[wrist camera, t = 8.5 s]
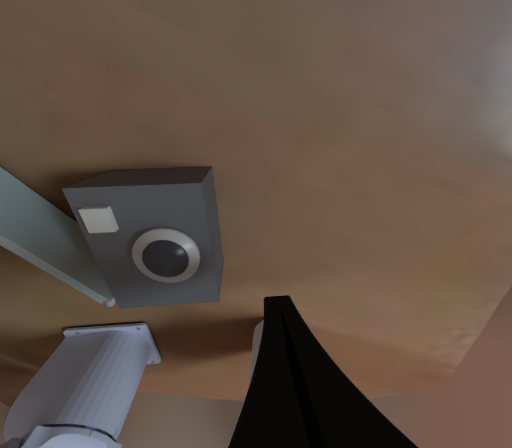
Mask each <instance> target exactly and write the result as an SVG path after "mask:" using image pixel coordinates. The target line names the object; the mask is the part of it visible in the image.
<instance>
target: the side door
mask: <svg viewBox="0 0 512 448" xmlns="http://www.w3.org/2000/svg"><path fill="white" fill-rule="evenodd" d="M0 245H1V246H3V247H4V248H6V249H8V250H9V251H11V252H13V253H15V254H16V255H18V256H20V257H21V258H23V259H25V260H27V261H28V262H30V263H32V264H33V265H35V266H37V267H39V268H40V269H42V270H44V271H46V272H47V273H49V274H51V275H52V276H54V277H56V278H58V279H59V280H61V281H63V282H64V283H66V284H68V285H70V286H71V287H73V288H75V289H76V290H78V291H80V292H82V293H83V294H85V295H87V296H88V297H90V298H92V299H94V300H95V301H97V302H99V303H100V304H102V305H104V306H106V307H112V306H113V305H114V303H115V302H116V300H115V298H114V296H113V294H112V292H111V290H110V287H109V285H108V283H107V281H106V279H105V277H104V275H103V273H102V271H101V269H100V267H99V265H98V263H97V261H96V259H95V257H94V254H93V252H92V250H91V248H90V246H89V244H88V242H87V240H86V238H85V236H84V234H83V232H82V230H81V228H80V226H79V224H78V223H77V222H76V221H74V220H73V219H72V218H70V217H69V216H67V215H66V214H65V213H63V212H62V211H61V210H59V209H58V208H56V207H55V206H54V205H52V204H51V203H49V202H48V201H47V200H45V199H44V198H43V197H41V196H40V195H38V194H37V193H36V192H34V191H33V190H32V189H30V188H29V187H27V186H26V185H25V184H23V183H22V182H21V181H19V180H18V179H16V178H15V177H14V176H12V175H11V174H9V173H8V172H7V171H5V170H4V169H3V168H1V167H0Z"/></svg>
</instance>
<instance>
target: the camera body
mask: <svg viewBox="0 0 512 448" xmlns="http://www.w3.org/2000/svg"><path fill="white" fill-rule="evenodd" d="M61 189H62V191H63V193H64V195H65V197H66V199H67V201H68V203H69V205H70V207H71V209H72V211H73V213H74V215H75V217H76V219H77V222H78V224H79V226H80V228H81V230H82V232H83V234H84V236H85V238H86V240H87V242H88V244H89V246H90V248H91V250H92V252H93V254H94V257H95V259H96V261H97V263H98V265H99V267H100V269H101V271H102V273H103V275H104V277H105V279H106V281H107V283H108V285H109V287H110V290H111V292H112V294H113V296H114V298H115V300H116V302H117V304H118V306H119V308H131V307H146V306H160V305H175V304H189V303H204V302H218V301H219V298H220V289H221V281H222V273H223V265H224V262H223V254H222V245H221V237H220V229H219V220H218V212H217V204H216V195H215V187H214V178H213V170H212V167H185V168H156V169H127V170H110V171H108V172H105V173H102V174H99V175H97V176H94V177H91V178H89V179H86V180H83V181H80V182H78V183H75V184H72V185H70V186H67V187H64V188H61Z"/></svg>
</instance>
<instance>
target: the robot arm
mask: <svg viewBox="0 0 512 448" xmlns="http://www.w3.org/2000/svg"><path fill="white" fill-rule="evenodd" d="M63 334H64V335H65V337H66V338H65V339H64V340H63V341H62V343H61V344H60V345H59V346H58V348H57V349H56V350H55V351H54V352H53V354H52V355H51V356H50V357H49V359H48V360H47V361H46V362H45V363H44V365H43V366H42V367H41V368H40V370H39V371H38V372H37V373H36V375H35V376H34V377H33V378H32V379H31V381H30V382H29V383H28V384H27V386H26V387H25V388H24V389H23V390H22V392H21V393H20V395H19V396H18V397H17V399H16V401H15V402H14V404H13V406H12V408H11V410H10V412H9V414H8V417H7V419H6V422H5V426H4V437H5V440H6V443H4V444H2V445H0V448H121V447H122V444H120V443H117V442H116V441H117V439H118V436H119V434H120V431H121V428H122V426H123V423H124V421H125V418H126V416H127V413H128V411H129V408H130V405H131V403H132V400H133V398H134V395H135V393H136V390H137V387H138V385H139V382H140V380H141V377H142V375H143V372H144V370H145V367H146V364H157V363H160V362H161V357H160V354H159V352H158V350H157V347H156V345H155V342H154V340H153V338H152V335H151V333H150V330H149V328H148V326H147V324H145V323H134V324H120V325H106V326H93V327H79V328H68V329H65V331H64V332H63ZM228 448H418V447H417V446H416V445H415V444H414V443H413V442H411V441H410V440H409V439H408V438H407V437H406V436H405V435H404V434H403V433H402V432H401V431H400V430H398V429H397V428H396V427H395V426H394V425H393V424H392V423H391V422H390V421H389V420H388V419H387V418H386V417H385V416H384V415H383V414H382V413H381V412H380V411H379V410H378V409H377V408H376V407H375V406H374V405H373V404H372V403H371V402H370V401H369V400H368V399H367V398H366V397H365V396H364V395H363V394H362V393H361V392H360V391H359V389H358V388H357V387H356V386H355V385H354V384H353V383H352V382H351V381H350V380H349V379H348V377H347V376H346V375H345V374H344V373H343V372H342V371H341V370H340V368H339V367H338V366H337V365H336V364H335V362H334V361H333V360H332V359H331V358H330V356H329V355H328V354H327V352H326V351H325V350H324V349H323V347H322V346H321V345H320V343H319V342H318V341H317V339H316V338H315V336H314V335H313V334H312V332H311V331H310V329H309V328H308V326H307V325H306V323H305V322H304V320H303V319H302V317H301V315H300V314H299V312H298V310H297V309H296V307H295V305H294V303H293V302H292V300H291V298H290V296H288V295H287V296H273V297H265V298H264V323H263V330H262V337H261V342H260V347H259V351H258V356H257V360H256V364H255V368H254V372H253V375H252V379H251V382H250V386H249V389H248V392H247V396H246V399H245V402H244V405H243V408H242V411H241V414H240V417H239V419H238V422H237V425H236V428H235V431H234V434H233V436H232V439H231V442H230V444H229V447H228Z"/></svg>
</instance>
